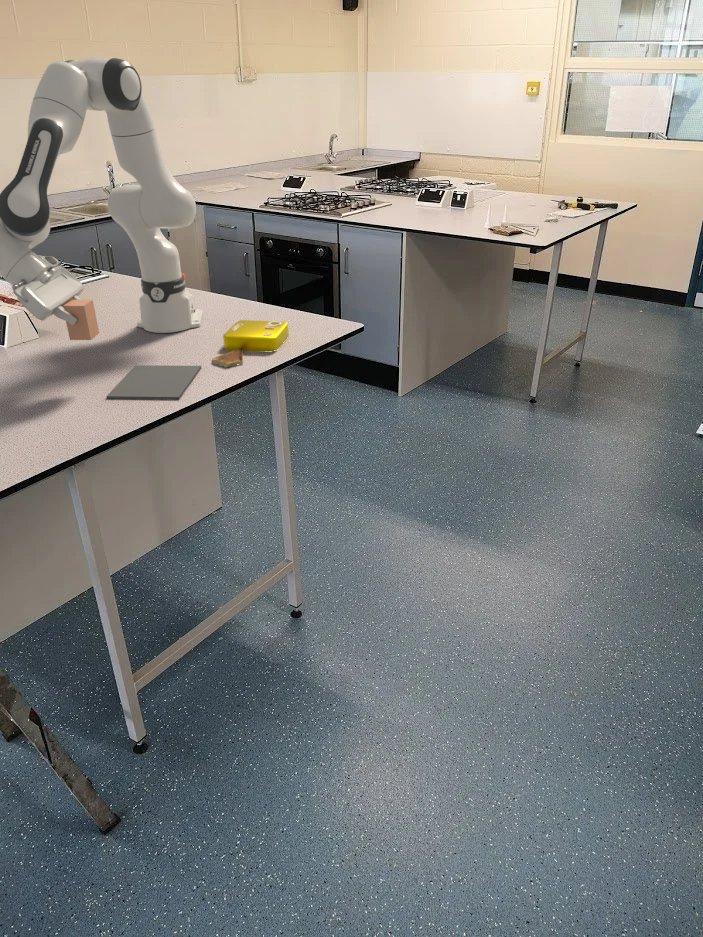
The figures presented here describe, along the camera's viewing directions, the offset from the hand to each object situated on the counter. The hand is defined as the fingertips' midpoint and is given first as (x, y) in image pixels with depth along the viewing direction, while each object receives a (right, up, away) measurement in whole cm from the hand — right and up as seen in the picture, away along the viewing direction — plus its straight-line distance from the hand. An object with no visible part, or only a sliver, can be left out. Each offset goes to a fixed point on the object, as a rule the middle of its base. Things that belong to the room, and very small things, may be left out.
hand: (81, 318), depth 167 cm
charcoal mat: (+15, -14, +8) cm, 22 cm away
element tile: (+36, -1, +33) cm, 49 cm away
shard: (+30, -7, +21) cm, 37 cm away
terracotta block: (0, -4, +2) cm, 4 cm away
